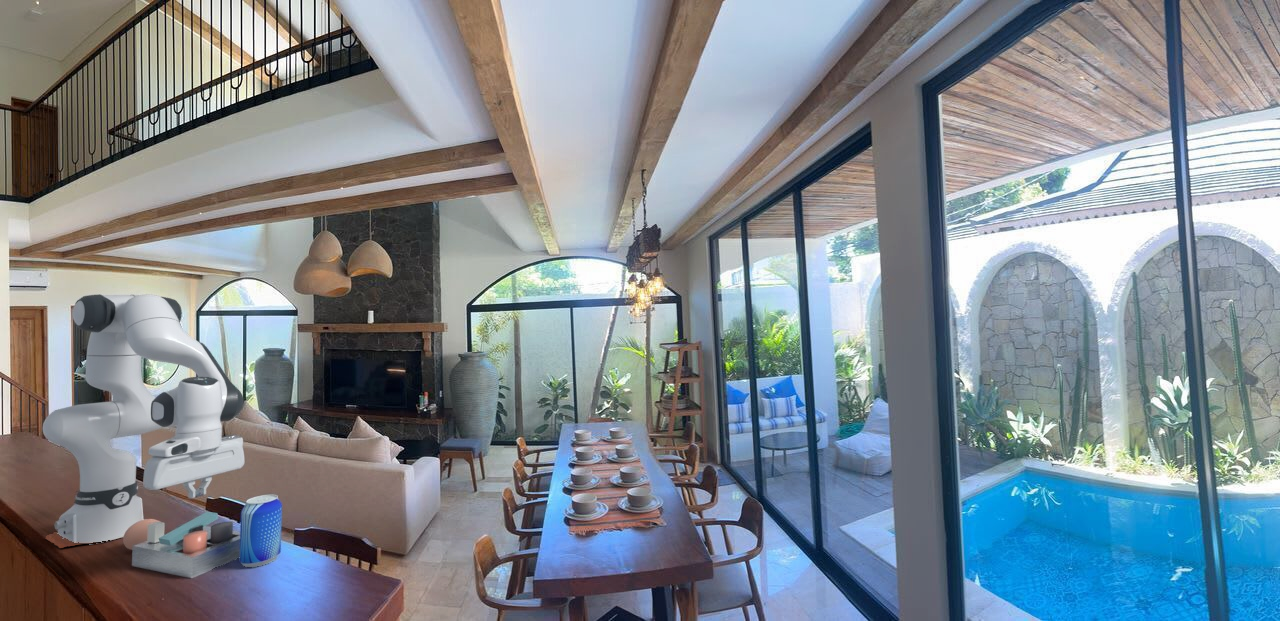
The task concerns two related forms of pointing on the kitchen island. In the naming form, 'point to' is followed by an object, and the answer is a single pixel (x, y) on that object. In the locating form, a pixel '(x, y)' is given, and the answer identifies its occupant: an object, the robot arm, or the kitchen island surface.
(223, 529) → the black button
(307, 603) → the kitchen island surface
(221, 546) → the switch box
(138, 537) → the toy ball
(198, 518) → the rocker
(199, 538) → the pink rounded cylinder
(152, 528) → the slider knob
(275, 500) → the beer can
